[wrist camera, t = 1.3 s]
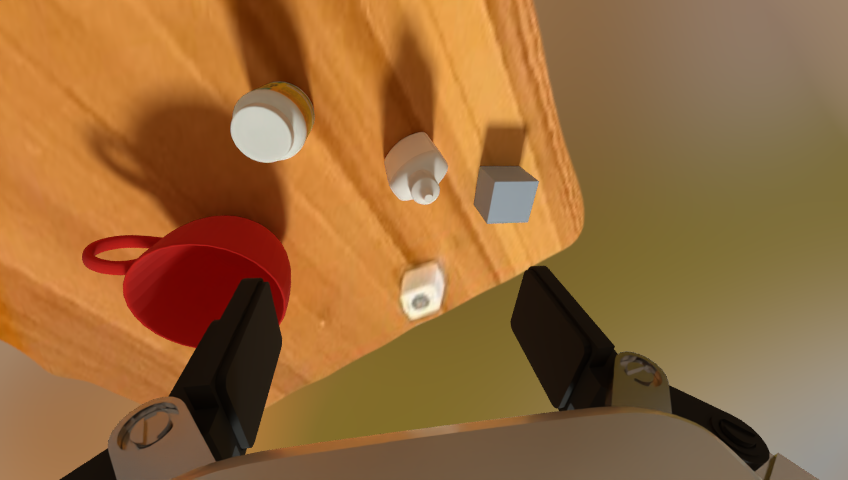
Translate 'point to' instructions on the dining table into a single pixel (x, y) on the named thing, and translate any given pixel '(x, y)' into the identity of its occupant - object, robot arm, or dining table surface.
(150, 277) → the ceramic cup
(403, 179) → the eye dropper bottle
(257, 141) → the supplement bottle
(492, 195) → the slate block
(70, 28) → the dining table surface
